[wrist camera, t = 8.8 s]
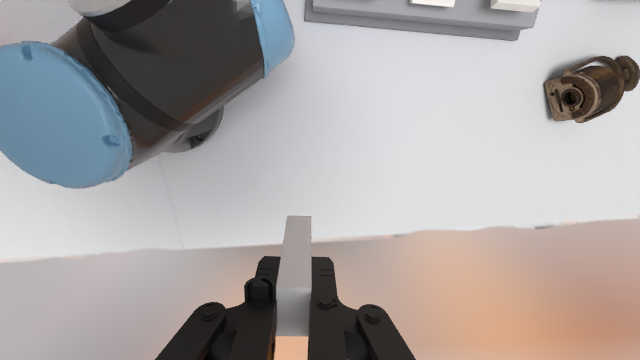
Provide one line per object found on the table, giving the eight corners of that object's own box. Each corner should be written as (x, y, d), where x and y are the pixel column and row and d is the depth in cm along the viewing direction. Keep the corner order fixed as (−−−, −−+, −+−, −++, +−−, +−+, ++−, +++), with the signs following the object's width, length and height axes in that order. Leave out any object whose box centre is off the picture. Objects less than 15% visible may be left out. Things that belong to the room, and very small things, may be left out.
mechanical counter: (581, 41, 38) (569, 120, 39) (686, 43, 37) (672, 123, 38) (542, 57, 45) (534, 123, 46) (630, 59, 44) (619, 126, 46)
